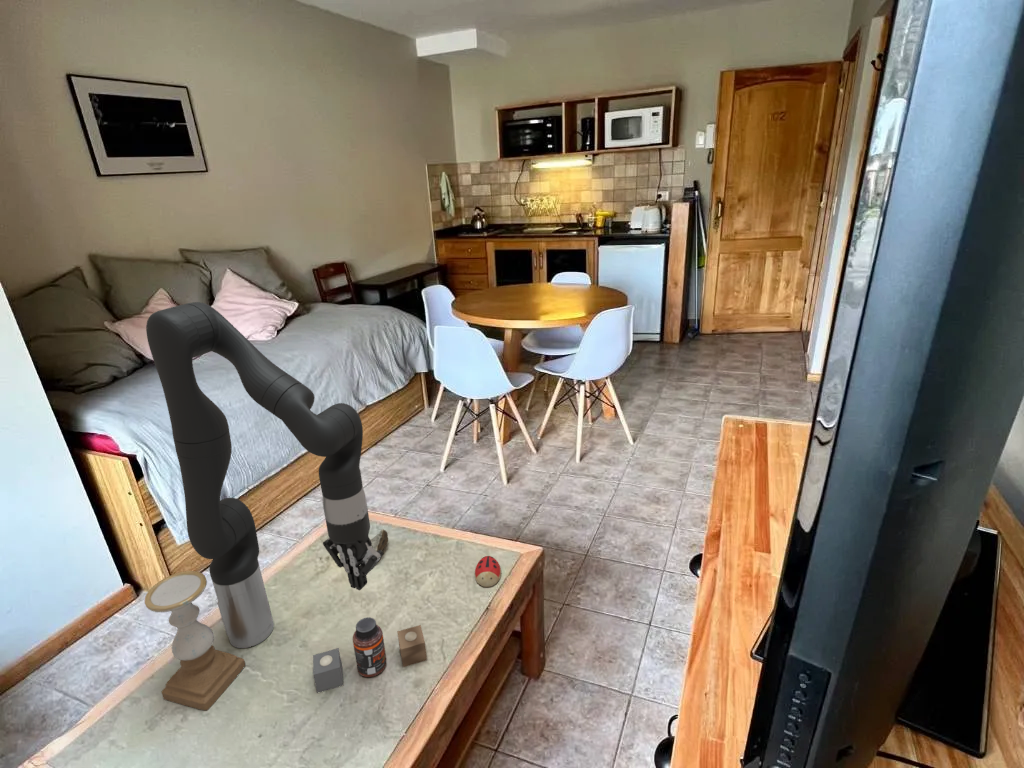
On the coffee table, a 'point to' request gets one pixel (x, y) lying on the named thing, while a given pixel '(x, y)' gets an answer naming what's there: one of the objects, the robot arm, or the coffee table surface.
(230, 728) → the coffee table surface
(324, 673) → the charcoal dotted block
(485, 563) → the ladybug figurine
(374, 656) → the supplement bottle
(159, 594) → the candle holder
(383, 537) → the rock sample
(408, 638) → the walnut dotted block
